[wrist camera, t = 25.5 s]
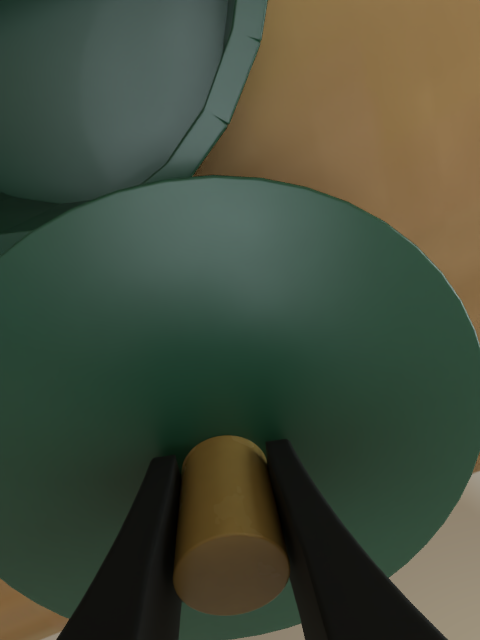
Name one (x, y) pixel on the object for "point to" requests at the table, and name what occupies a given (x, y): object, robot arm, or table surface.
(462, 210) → the table surface
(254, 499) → the tin lid
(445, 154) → the table surface
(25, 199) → the tin
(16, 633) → the table surface
